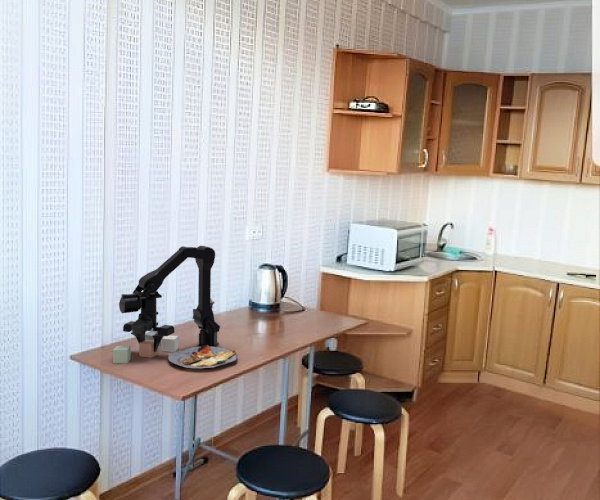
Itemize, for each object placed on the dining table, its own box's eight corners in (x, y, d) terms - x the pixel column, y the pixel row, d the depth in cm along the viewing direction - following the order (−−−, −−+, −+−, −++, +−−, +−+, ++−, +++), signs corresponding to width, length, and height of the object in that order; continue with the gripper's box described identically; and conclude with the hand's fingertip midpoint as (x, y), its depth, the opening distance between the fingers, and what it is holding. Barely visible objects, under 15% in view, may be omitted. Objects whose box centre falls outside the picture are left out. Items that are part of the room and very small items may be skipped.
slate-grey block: (161, 345, 245) (161, 333, 245) (152, 348, 241) (152, 336, 240) (151, 343, 248) (151, 331, 247) (142, 346, 243) (142, 334, 243)
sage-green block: (130, 359, 227) (130, 346, 226) (127, 363, 222) (127, 349, 221) (116, 359, 227) (116, 345, 226) (113, 363, 222) (113, 349, 221)
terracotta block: (158, 353, 234) (158, 341, 233) (151, 357, 229) (151, 344, 229) (146, 352, 235) (146, 339, 235) (139, 356, 231) (139, 343, 230)
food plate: (207, 347, 244) (207, 338, 243) (250, 360, 229) (250, 351, 229) (155, 363, 225) (155, 353, 224) (198, 378, 210) (198, 368, 210)
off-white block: (178, 348, 242) (178, 336, 241) (174, 352, 237) (174, 339, 236) (165, 347, 242) (165, 335, 242) (161, 351, 238) (161, 338, 237)
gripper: (114, 312, 225) (114, 354, 227) (159, 317, 220) (160, 359, 222) (131, 306, 236) (131, 346, 238) (175, 310, 230) (175, 351, 232)
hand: (148, 350), depth 232 cm, fingers closed on terracotta block, 5 cm apart
